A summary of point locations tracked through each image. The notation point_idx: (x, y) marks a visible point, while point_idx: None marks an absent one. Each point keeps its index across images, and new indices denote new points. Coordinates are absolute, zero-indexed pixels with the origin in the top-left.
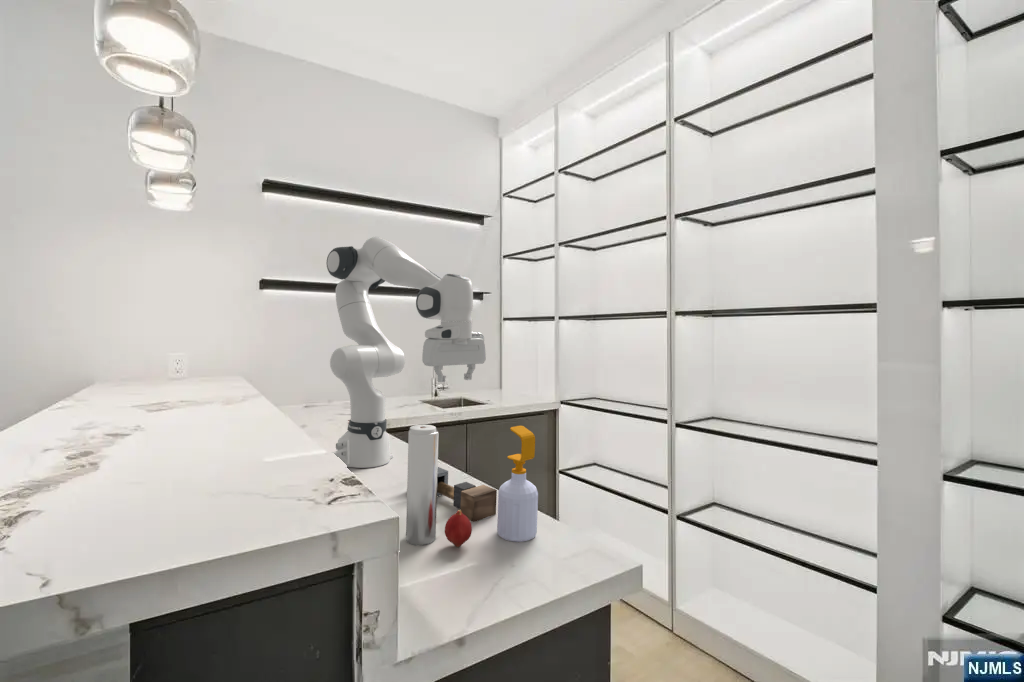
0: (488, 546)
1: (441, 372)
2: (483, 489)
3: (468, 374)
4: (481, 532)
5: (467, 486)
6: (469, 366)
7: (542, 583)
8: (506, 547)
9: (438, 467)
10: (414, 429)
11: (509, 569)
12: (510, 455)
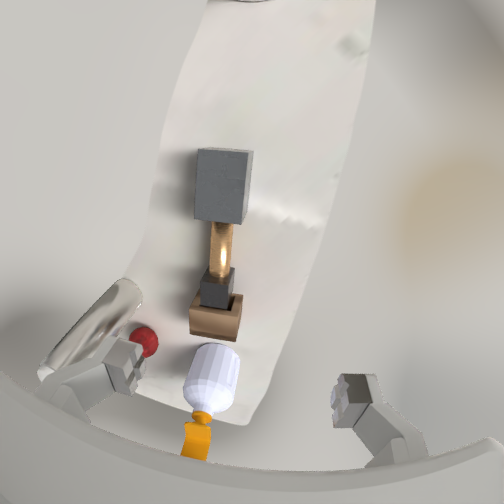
0: (175, 351)
1: (91, 404)
2: (221, 328)
3: (337, 426)
4: (189, 332)
5: (213, 301)
6: (377, 461)
7: (172, 396)
8: (187, 363)
9: (241, 191)
10: (41, 381)
11: (165, 377)
12: (192, 424)
